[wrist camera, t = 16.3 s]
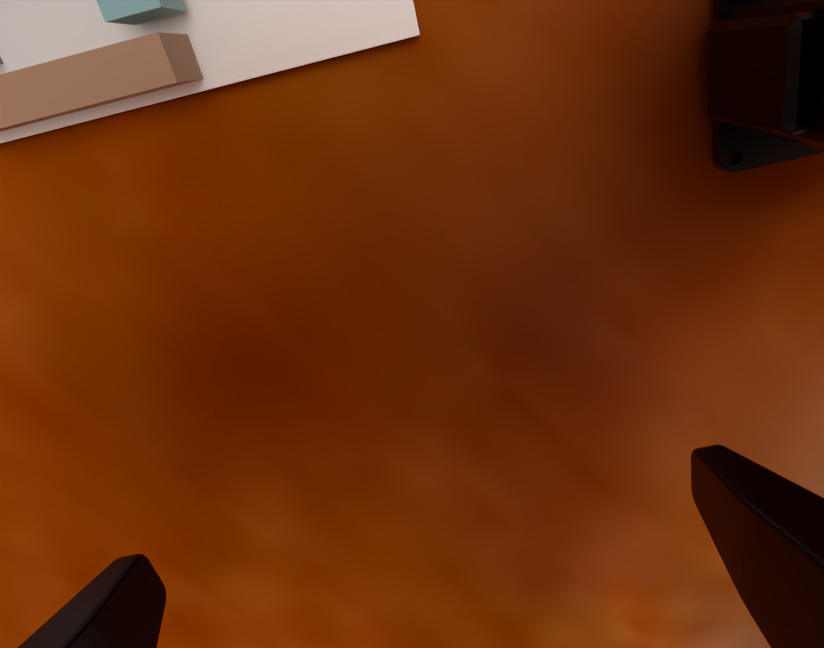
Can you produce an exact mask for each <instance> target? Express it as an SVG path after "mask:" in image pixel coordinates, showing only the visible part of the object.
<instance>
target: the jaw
mask: <svg viewBox="0 0 824 648" xmlns="http://www.w3.org/2000/svg"><path fill="white" fill-rule="evenodd" d="M96 1H97V4H98V6H99V8H100V11H101V13H102V16H103V18H104V20H105V22H110V23H120V24H129V25H138V24H142V23H145V22H149V21H153V20H157V19H160V18H164V17H168V16H171V15H175V14H179V13H182V12H186V9H185V6H184V3H183V0H96Z"/></svg>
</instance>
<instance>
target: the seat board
mask: <svg viewBox="0 0 824 648" xmlns="http://www.w3.org/2000/svg"><path fill="white" fill-rule="evenodd" d="M183 3H184V6H185V9H186V12H182V13H179V14H175V15H171V16H168V17H164V18H160V19H157V20H153V21H149V22H145V23H142V24H138V25H129V24H120V23H110V22H105V20H104V18H103V16H102V13H101V11H100V8H99V6H98V4H97V1H96V0H0V144H1V143H5V142H9V141H13V140H16V139H20V138H24V137H28V136H32V135H36V134H40V133H44V132H47V131H51V130H55V129H59V128H63V127H67V126H71V125H74V124H78V123H82V122H86V121H90V120H94V119H98V118H102V117H105V116H109V115H113V114H117V113H121V112H125V111H129V110H133V109H136V108H140V107H144V106H148V105H152V104H156V103H160V102H164V101H167V100H171V99H175V98H179V97H183V96H187V95H191V94H195V93H198V92H202V91H206V90H210V89H214V88H218V87H222V86H226V85H229V84H233V83H237V82H241V81H245V80H249V79H253V78H257V77H260V76H264V75H268V74H272V73H276V72H280V71H284V70H287V69H291V68H295V67H299V66H303V65H307V64H311V63H315V62H318V61H322V60H326V59H330V58H334V57H338V56H342V55H346V54H349V53H353V52H357V51H361V50H365V49H369V48H373V47H377V46H380V45H384V44H388V43H392V42H396V41H400V40H404V39H408V38H411V37H415V36H419V35H420V33H419V28H418V23H417V18H416V13H415V8H414V3H413V0H183Z"/></svg>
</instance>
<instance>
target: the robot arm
mask: <svg viewBox="0 0 824 648" xmlns="http://www.w3.org/2000/svg"><path fill="white" fill-rule="evenodd" d="M708 115H709V116H710V117H711V118H713V159H714V164H715V165H716V166H717V168H719V169H721V170H724V171H727V172H737V171H742V170H746V169H751V168H755V167H760V166H764V165H768V164H773V163H777V162H782V161H786V160H790V159H795V158H799V157H804V156H808V155H812V154H817V153H821V152H824V0H714V24H713V26H712V27H711V29H710V30H709V32H708ZM734 149H736V152H737V154H736V157H735V158H734V160H733V161H731V162H729V163H728V161H727V157H728V154H729V153H730V152H731V151H732V150H734ZM691 485H692V495H693V498H694V501H695V504H696V506H697V508H698V510H699V512H700V514H701V517H702V519H703V521H704V523H705V525H706V527H707V529H708V531H709V533H710V535H711V537H712V539H713V542H714V544H715V546H716V548H717V550H718V552H719V554H720V556H721V558H722V560H723V562H724V564H725V566H726V569H727V571H728V573H729V575H730V577H731V579H732V581H733V583H734V585H735V587H736V589H737V591H738V593H739V595H740V597H741V599H742V600H743V602H744V604H745V606H746V607H747V609H748V611H749V612H750V614H751V616H752V617H753V619H754V621H755V622H756V624H757V626H758V627H759V629H760V630H761V632H762V634H763V635H764V637H765V638H766V640H767V642H768V643H769V645H770V647H771V648H824V498H822V497H820V496H819V495H817V494H815V493H813V492H811V491H809V490H807V489H805V488H803V487H801V486H799V485H798V484H796V483H794V482H792V481H790V480H788V479H786V478H784V477H782V476H780V475H778V474H776V473H775V472H773V471H771V470H769V469H767V468H765V467H763V466H761V465H759V464H757V463H755V462H753V461H752V460H750V459H748V458H746V457H744V456H742V455H740V454H738V453H736V452H734V451H732V450H730V449H729V448H727V447H724V446H722V445H712V446H707V447H702V448H697V449H695V450H694V451H693V452H692V455H691ZM165 603H166V590H165V586H164V584H163V582H162V581H161V579H160V577H159V576H158V574H157V572H156V571H155V569H154V568H153V566H152V564H151V563H150V561H149V559H148V558H147V557H146V556H144V555H143V554H135V555H130V556H125V557H121V558H118V559H116V560H115V561H114V562H112V563H111V564H110V565H109V566H108V567H107V568H106V569H105V570H103V571H102V572H101V573H100V574H99V575H98V576H97V577H96V578H95V579H93V580H92V581H91V582H90V583H89V584H88V585H87V586H86V587H85V588H84V589H82V590H81V591H80V592H79V593H78V594H77V595H76V596H75V597H74V598H72V599H71V600H70V601H69V602H68V603H67V604H66V605H65V606H64V607H62V608H61V609H60V610H59V611H58V612H57V613H56V614H55V615H54V616H52V617H51V618H50V619H49V620H48V621H47V622H46V623H45V624H44V625H42V626H41V627H40V628H39V629H38V630H37V631H36V632H35V633H34V634H32V635H31V636H30V637H29V638H28V639H27V640H26V641H25V642H24V643H22V644H21V645H20V646H19V647H18V648H157V643H158V638H159V633H160V628H161V623H162V618H163V613H164V608H165Z"/></svg>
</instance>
